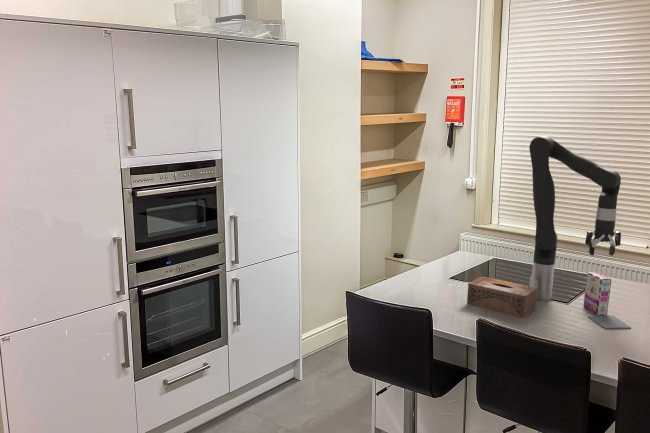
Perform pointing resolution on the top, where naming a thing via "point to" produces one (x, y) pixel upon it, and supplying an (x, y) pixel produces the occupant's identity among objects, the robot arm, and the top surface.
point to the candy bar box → (597, 293)
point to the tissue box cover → (502, 296)
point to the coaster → (609, 322)
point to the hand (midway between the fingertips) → (601, 255)
